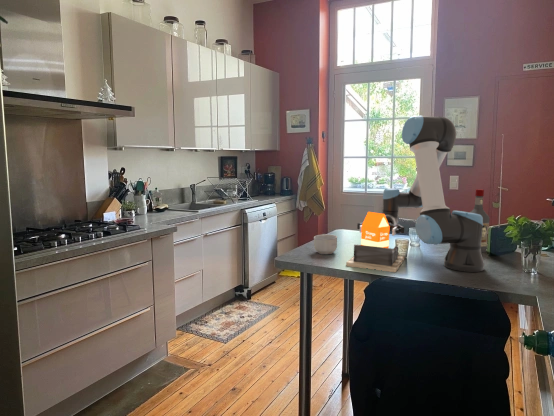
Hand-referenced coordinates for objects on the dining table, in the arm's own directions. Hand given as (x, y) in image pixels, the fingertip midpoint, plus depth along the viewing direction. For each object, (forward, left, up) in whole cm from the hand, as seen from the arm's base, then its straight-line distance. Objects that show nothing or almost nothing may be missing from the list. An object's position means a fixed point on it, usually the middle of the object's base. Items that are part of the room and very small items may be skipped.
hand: (376, 230), depth 171 cm
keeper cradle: (+1, -1, -14) cm, 14 cm away
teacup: (+27, +5, -14) cm, 31 cm away
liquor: (-8, -62, -14) cm, 65 cm away
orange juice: (+1, -1, -13) cm, 13 cm away
